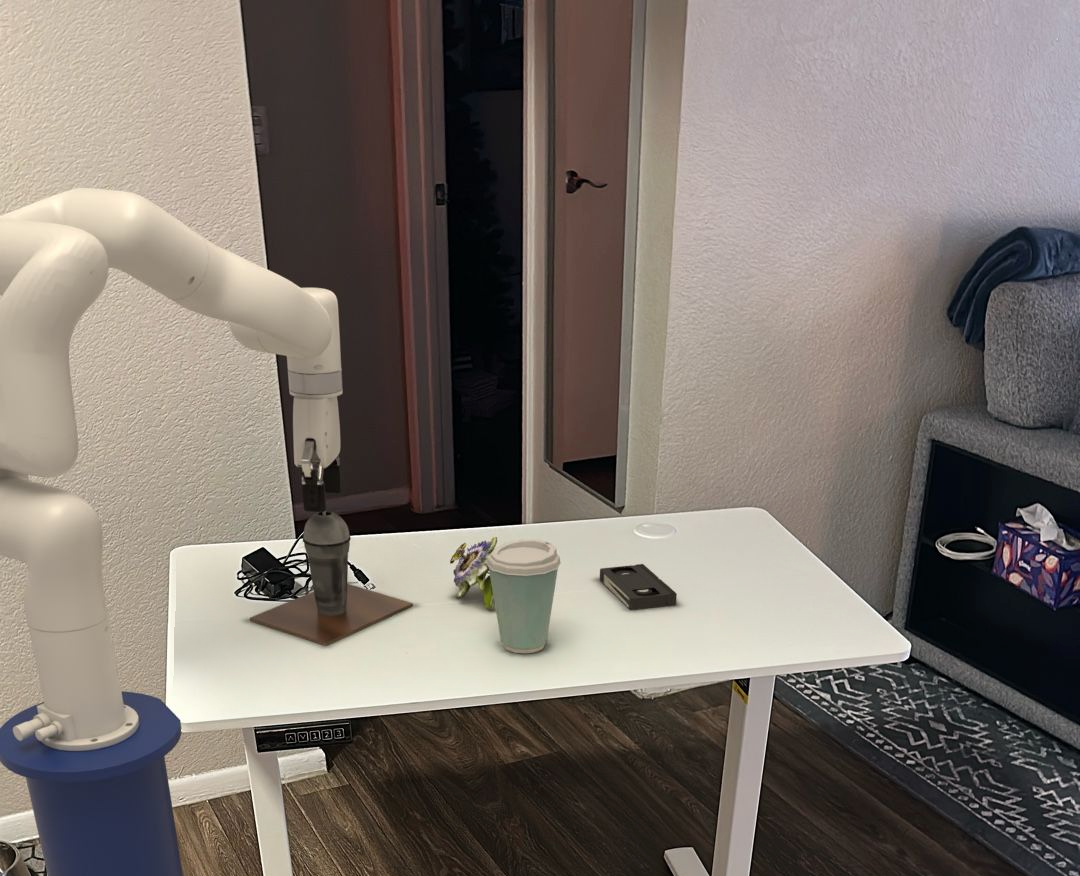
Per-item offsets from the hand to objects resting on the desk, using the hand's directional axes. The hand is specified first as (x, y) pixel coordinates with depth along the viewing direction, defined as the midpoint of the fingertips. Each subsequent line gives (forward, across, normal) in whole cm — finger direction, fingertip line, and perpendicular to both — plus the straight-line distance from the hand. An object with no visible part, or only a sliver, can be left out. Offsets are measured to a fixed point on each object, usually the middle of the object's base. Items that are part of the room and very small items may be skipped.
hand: (323, 501), depth 191 cm
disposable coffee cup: (+18, +8, +31) cm, 37 cm away
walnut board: (+18, 0, 0) cm, 18 cm away
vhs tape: (+18, -16, +48) cm, 53 cm away
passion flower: (+18, -10, +23) cm, 31 cm away
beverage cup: (+18, 0, 0) cm, 18 cm away
